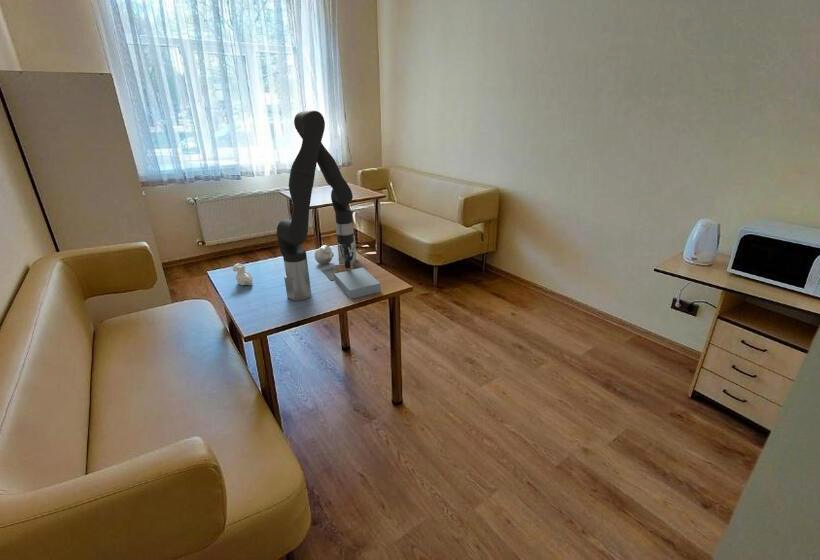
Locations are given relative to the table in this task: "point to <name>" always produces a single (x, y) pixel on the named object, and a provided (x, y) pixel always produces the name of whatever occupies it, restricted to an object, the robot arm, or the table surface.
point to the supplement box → (341, 259)
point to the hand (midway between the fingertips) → (347, 267)
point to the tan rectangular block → (342, 268)
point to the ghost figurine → (324, 255)
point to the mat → (331, 272)
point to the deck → (357, 283)
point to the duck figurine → (242, 275)
